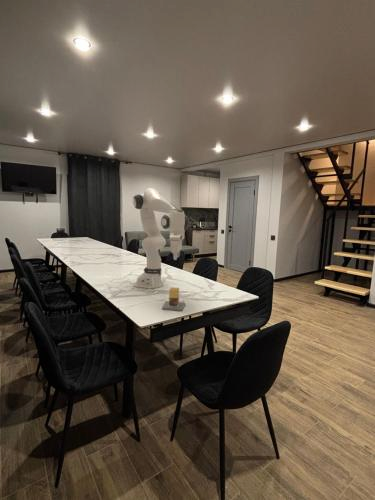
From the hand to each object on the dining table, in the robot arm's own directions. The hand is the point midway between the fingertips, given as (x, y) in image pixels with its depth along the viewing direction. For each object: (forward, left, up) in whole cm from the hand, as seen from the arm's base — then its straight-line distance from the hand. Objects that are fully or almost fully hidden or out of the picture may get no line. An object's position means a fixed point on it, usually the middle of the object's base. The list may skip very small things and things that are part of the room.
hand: (176, 258), depth 164 cm
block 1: (0, -5, -23) cm, 23 cm away
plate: (0, -5, -29) cm, 30 cm away
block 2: (0, -5, -28) cm, 28 cm away
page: (-1, +7, -29) cm, 30 cm away
